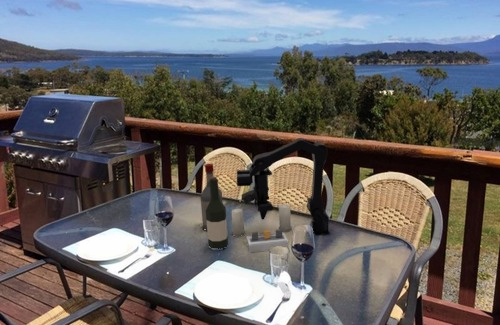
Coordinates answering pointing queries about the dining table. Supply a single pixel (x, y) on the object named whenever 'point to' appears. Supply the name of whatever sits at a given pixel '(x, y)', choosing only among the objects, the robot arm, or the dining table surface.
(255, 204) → the robot arm
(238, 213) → the post
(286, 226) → the post
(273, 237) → the box
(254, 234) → the paddle
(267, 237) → the block
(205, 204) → the liquor
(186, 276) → the dining table surface
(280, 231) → the paddle
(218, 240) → the wine bottle
